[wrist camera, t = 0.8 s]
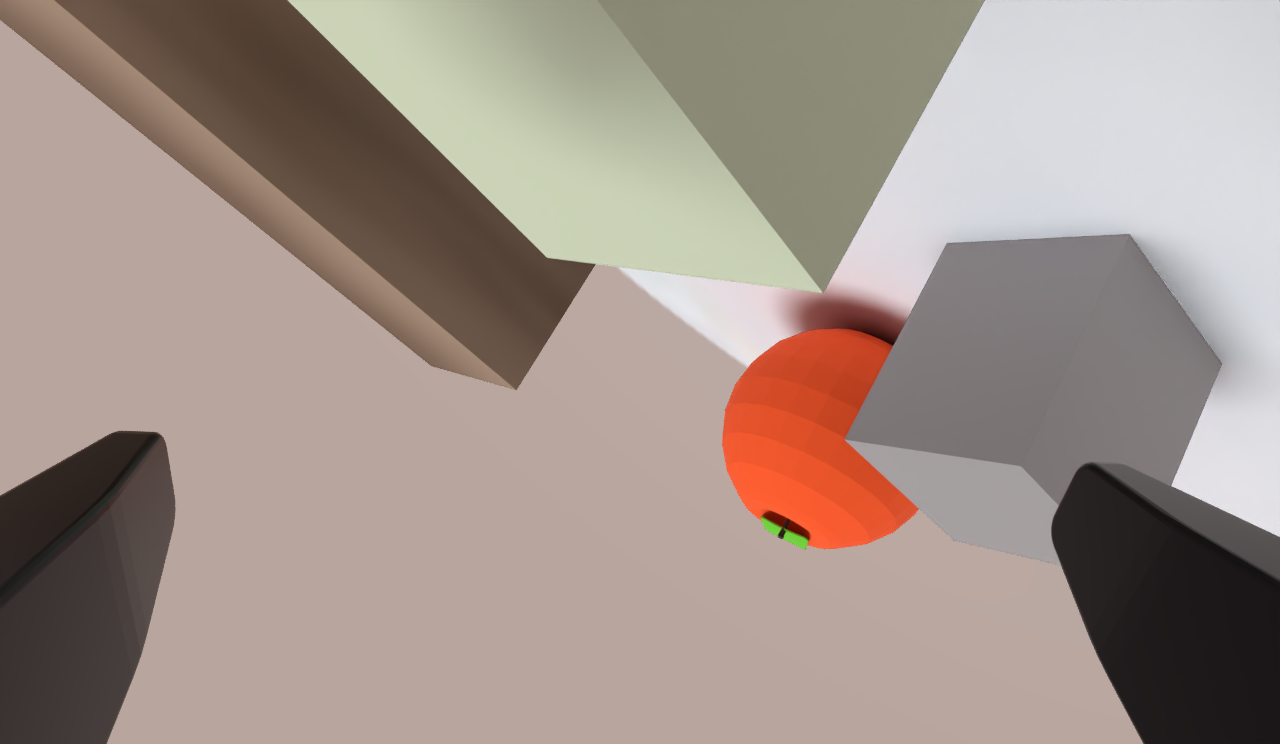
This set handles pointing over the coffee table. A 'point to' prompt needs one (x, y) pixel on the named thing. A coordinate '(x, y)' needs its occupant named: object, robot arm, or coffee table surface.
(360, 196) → the walnut console
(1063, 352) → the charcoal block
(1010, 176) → the coffee table surface
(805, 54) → the pale green block
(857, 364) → the clementine
